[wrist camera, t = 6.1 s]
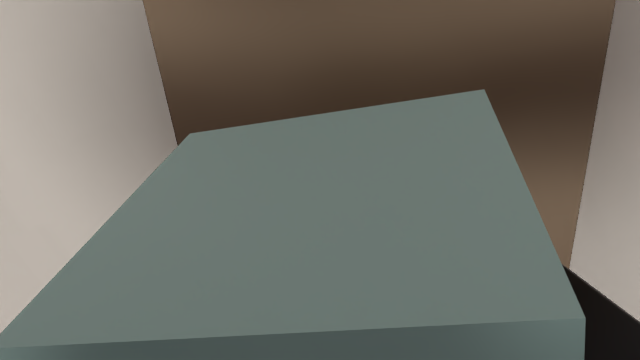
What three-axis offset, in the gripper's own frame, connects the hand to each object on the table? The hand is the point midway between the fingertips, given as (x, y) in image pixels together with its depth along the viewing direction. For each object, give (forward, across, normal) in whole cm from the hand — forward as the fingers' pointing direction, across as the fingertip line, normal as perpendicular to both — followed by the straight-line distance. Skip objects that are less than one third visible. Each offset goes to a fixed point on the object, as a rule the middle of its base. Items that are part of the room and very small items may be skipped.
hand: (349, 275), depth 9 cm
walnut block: (+11, 0, 0) cm, 11 cm away
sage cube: (+1, 0, 0) cm, 1 cm away
